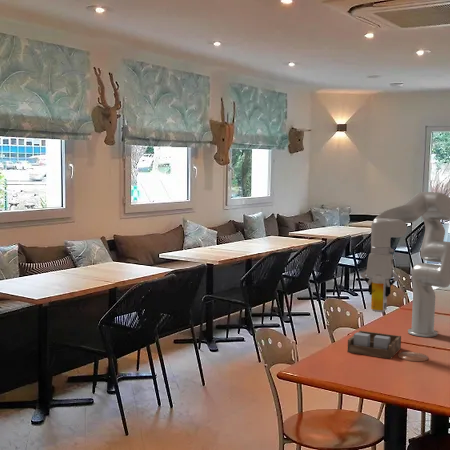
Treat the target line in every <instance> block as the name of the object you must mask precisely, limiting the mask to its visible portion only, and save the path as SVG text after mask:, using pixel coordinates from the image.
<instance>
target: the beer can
mask: <svg viewBox="0 0 450 450" xmlns="http://www.w3.org/2000/svg"><path fill="white" fill-rule="evenodd" d="M386 287H387V284H386V280H385V279H384V277H383V276H382V275H374V276H373V278H372V295H370V296H371V303H370V308H371V310H372V311H373V312H375V313H385V312H386V311H387V307H388V297H386Z"/></svg>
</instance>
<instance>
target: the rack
mask: <svg viewBox="0 0 450 450" xmlns="http://www.w3.org/2000/svg"><path fill="white" fill-rule="evenodd" d="M358 333H366V334H370V347H365V346H358V345H354V335H352V336H351V337H350V338H348V339H347V353H353V354H358V355H365V356H370V357H377V358H383V359H389V360H390V359H392V358H393V357H394V356H395V355H396V354H397V353H399V350H401V347H402V336H401V335H396V334H387V333H380V332H372V331H366V330H359V331H358ZM376 335H380V336H388V337H391V338H390V345H389V346H388V350H385V349H379V348H374V337H375V336H376Z"/></svg>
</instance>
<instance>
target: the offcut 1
mask: <svg viewBox="0 0 450 450" xmlns="http://www.w3.org/2000/svg"><path fill="white" fill-rule="evenodd" d="M358 332H359V331H358ZM358 332H357V331H356V332H355V333H354V334H353V336H354V345H358V346H365V347H370V334H366V333H358Z"/></svg>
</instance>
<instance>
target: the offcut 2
mask: <svg viewBox="0 0 450 450" xmlns="http://www.w3.org/2000/svg"><path fill="white" fill-rule="evenodd" d="M390 338H391V337H388V336H380V335H376V336H375V337H374V348H379V349H385V350H388V346H389V345H390Z"/></svg>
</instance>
